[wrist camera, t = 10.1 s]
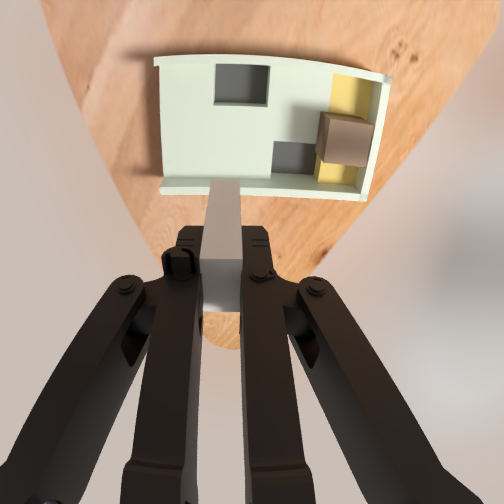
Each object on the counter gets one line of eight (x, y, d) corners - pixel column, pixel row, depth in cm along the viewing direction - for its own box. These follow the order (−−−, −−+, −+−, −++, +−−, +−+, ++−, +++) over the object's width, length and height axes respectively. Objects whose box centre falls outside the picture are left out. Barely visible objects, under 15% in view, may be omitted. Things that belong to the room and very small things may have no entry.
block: (320, 111, 32) (330, 118, 29) (360, 117, 32) (373, 125, 29) (314, 150, 35) (323, 162, 32) (353, 155, 35) (365, 167, 32)
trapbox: (164, 56, 29) (153, 57, 25) (373, 71, 31) (391, 76, 27) (168, 177, 39) (160, 194, 35) (353, 184, 41) (366, 201, 37)
